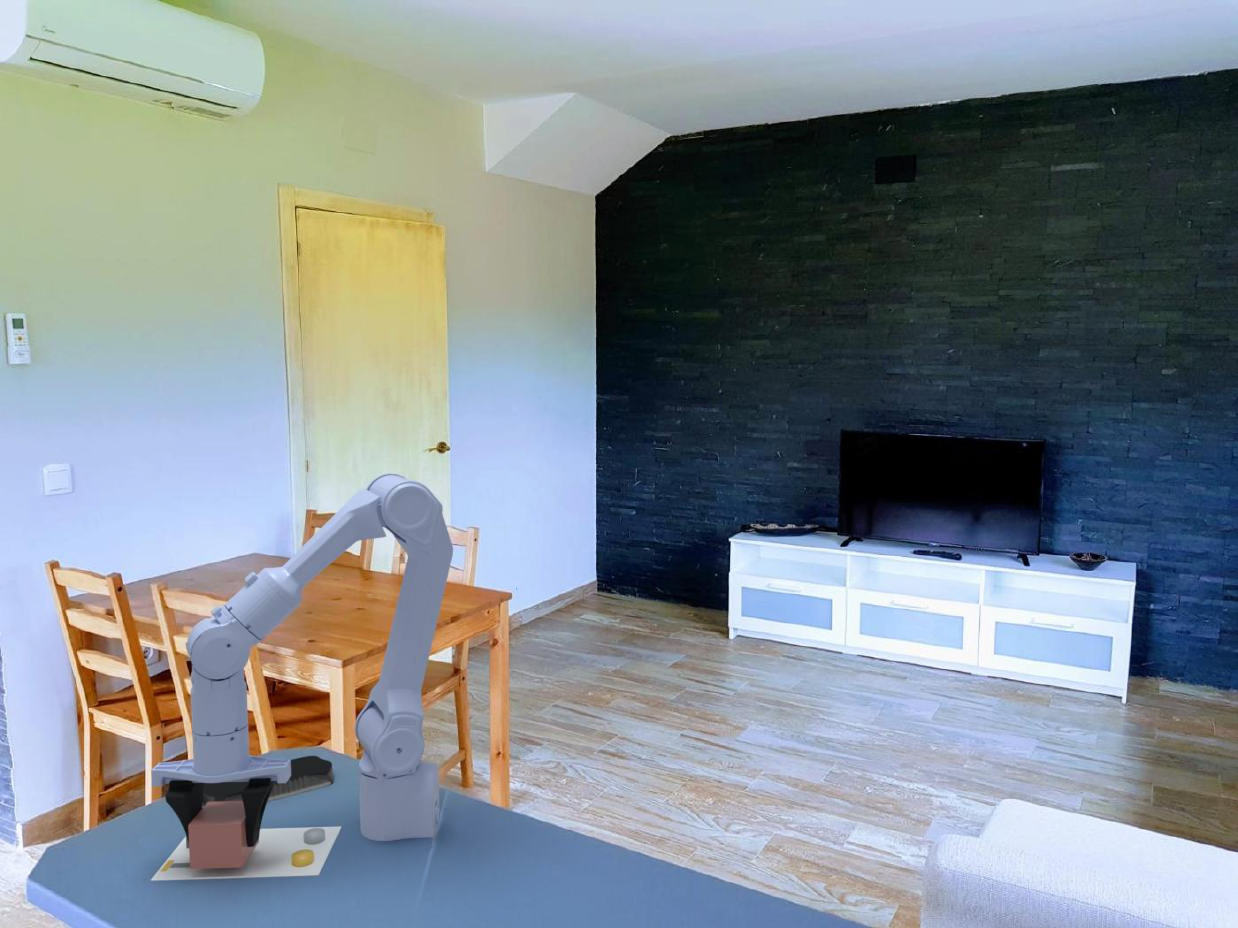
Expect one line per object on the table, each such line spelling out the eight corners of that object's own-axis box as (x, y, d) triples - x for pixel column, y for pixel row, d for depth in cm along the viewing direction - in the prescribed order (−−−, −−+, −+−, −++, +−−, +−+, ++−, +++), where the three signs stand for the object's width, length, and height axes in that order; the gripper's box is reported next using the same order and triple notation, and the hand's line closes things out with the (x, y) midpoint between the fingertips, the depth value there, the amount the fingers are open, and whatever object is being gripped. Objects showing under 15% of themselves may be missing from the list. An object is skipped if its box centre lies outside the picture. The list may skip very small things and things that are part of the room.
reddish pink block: (258, 841, 107) (257, 800, 107) (242, 867, 102) (240, 823, 101) (209, 843, 107) (207, 801, 106) (190, 868, 101) (188, 825, 101)
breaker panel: (341, 835, 113) (340, 801, 113) (318, 885, 102) (317, 847, 102) (190, 840, 112) (188, 805, 111) (150, 890, 101) (148, 852, 100)
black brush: (210, 828, 115) (209, 800, 115) (195, 803, 122) (194, 776, 122) (339, 794, 125) (338, 768, 125) (318, 772, 132) (318, 747, 131)
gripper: (297, 711, 107) (300, 824, 108) (168, 714, 106) (173, 827, 107) (278, 735, 100) (282, 855, 101) (140, 738, 99) (146, 859, 100)
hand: (225, 843), depth 104 cm, fingers closed on reddish pink block, 6 cm apart
